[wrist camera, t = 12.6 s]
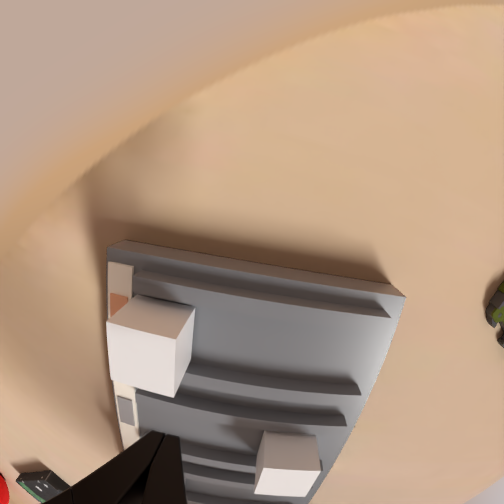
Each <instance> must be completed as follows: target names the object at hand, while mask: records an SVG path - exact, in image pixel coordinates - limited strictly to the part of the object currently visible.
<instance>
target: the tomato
mask: <svg viewBox="0 0 504 504" xmlns="http://www.w3.org/2000/svg"><path fill="white" fill-rule="evenodd" d="M8 503H9V490H8V487H7V484H6V482H5V480H4V479H3V478H2V476H1V475H0V504H8Z"/></svg>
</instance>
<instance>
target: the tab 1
mask: <svg viewBox="0 0 504 504" xmlns="http://www.w3.org/2000/svg"><path fill="white" fill-rule="evenodd" d="M194 317H195V307H193V306H188V305H183V304H178V303H173V302H169V301H164V300H159V299H155V298H150V297H146V296H141V295H136V296H135V297H133V298H132V299H131V300H130V301H129V302H128V303H127V304H125V305H124V306H123V307H122V308H121V309H120V310H118V311H117V312H116V313H115V314H114V315H113V316H112V317H111V318H109V319H108V320H107V321H106V329H107V344H108V357H109V367H110V376H111V380H114V381H117V382H120V383H123V384H126V385H130V386H133V387H136V388H140V389H143V390H146V391H150V392H154V393H157V394H161V395H165V396H169V397H173V398H174V396H175V394H176V392H177V390H178V387H179V385H180V383H181V381H182V378H183V376H184V374H185V372H186V369H187V367H188V365H189V363H190V360H191V352H192V339H193V328H194Z"/></svg>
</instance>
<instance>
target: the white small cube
mask: <svg viewBox="0 0 504 504" xmlns="http://www.w3.org/2000/svg"><path fill="white" fill-rule="evenodd" d="M320 472H321V468H320V460H319V453H318V446H317V439H316V435H312V434H297V433H285V432H275V431H266V430H264V433H263V436H262V440H261V443H260V446H259V450H258V453H257V459H256V473H255V487H254V494H263V495H275V496H294V497H305V496H306V495H307V493H308V492H309V490H310V488H311V487H312V485H313V483H314V482H315V480H316V479H317V477H318V475H319V473H320Z"/></svg>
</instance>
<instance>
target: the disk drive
mask: <svg viewBox="0 0 504 504" xmlns="http://www.w3.org/2000/svg"><path fill="white" fill-rule="evenodd" d="M16 482H17V483H18V484H19V485H20V486H21V487H23V488H24V489H25V490H26V491H27V492H28V493H29V494H31V495H32V496H33V497H34V498H35V499H36V500H38V501H39V502H41V503H43V502H45V501H48V500H49V499H51V498H53V497H55V496H57V495H58V494H60V493H62V492H63V491H65V490H66V489H68V488H71V487H70V486H69V485H68V484H67V483H66V482H64V481H63V480H62V479H61V478H60V477H58V476H57V475H56V474H55V473H54V472H53V471H51V470H49V471H42V472H32V473H21V474H20V475H19V477H18V478H17V479H16Z"/></svg>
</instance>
